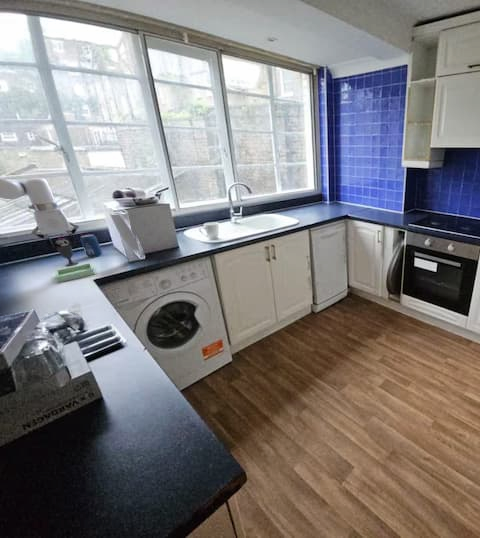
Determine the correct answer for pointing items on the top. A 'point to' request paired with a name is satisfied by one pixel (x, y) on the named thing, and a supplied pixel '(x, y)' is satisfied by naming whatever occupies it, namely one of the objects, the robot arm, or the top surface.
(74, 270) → the tray
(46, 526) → the top surface
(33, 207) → the robot arm
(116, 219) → the skyscraper
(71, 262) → the sundae
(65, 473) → the top surface
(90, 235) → the soda can
